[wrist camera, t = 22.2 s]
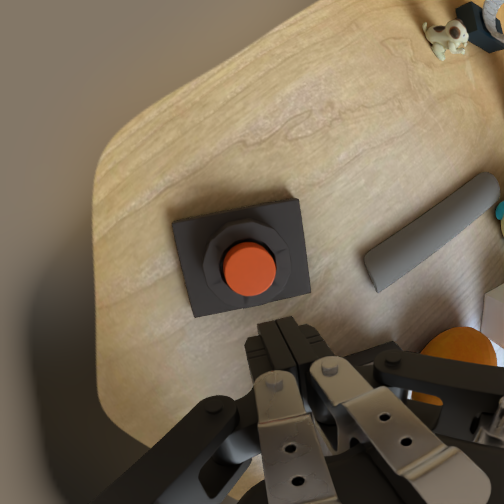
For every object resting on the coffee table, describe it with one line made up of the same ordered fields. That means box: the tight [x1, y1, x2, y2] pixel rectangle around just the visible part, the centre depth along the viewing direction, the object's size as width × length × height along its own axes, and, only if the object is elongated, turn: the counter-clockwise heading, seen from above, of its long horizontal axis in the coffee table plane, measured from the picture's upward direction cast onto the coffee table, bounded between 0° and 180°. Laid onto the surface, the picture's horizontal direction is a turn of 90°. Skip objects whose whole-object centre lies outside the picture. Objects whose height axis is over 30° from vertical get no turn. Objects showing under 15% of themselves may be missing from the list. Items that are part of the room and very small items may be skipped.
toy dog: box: [423, 18, 469, 61], centre depth 21 cm, size 4×5×5 cm
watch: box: [456, 0, 504, 53], centre depth 18 cm, size 6×8×11 cm
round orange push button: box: [223, 242, 276, 296], centre depth 23 cm, size 4×4×2 cm
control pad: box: [172, 198, 311, 318], centre depth 25 cm, size 10×8×3 cm
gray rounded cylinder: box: [364, 172, 500, 293], centre depth 28 cm, size 4×20×2 cm, turn 120°
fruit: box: [411, 327, 497, 406], centre depth 28 cm, size 12×12×10 cm
